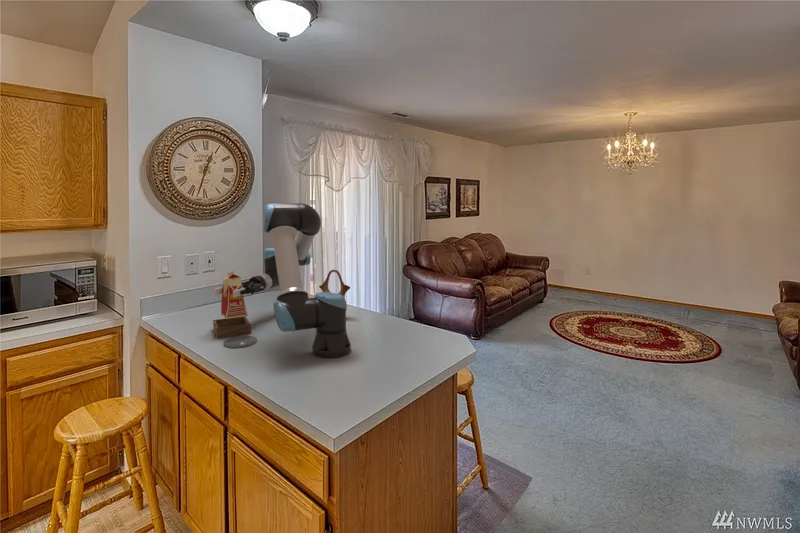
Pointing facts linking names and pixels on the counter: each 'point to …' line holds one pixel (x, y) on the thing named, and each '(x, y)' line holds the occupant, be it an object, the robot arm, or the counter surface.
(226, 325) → the walnut cradle
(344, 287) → the brown handbag
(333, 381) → the counter surface
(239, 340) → the slate coaster
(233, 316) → the milk carton
